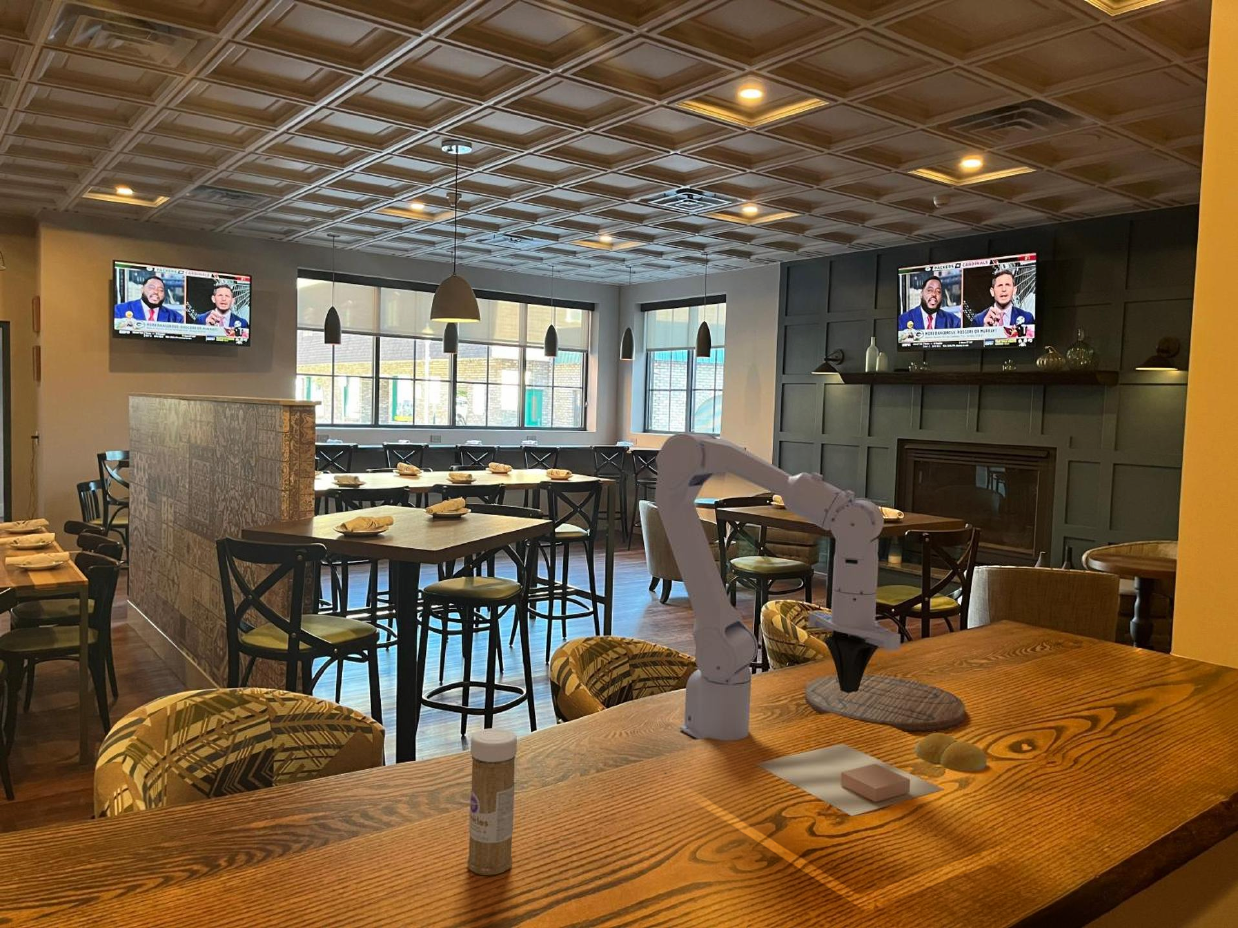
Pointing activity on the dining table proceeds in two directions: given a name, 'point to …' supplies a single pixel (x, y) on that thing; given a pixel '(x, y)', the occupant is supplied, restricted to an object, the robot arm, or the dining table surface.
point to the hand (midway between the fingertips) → (849, 690)
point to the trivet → (888, 703)
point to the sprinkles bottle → (492, 801)
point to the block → (875, 782)
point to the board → (839, 777)
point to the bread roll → (950, 753)
